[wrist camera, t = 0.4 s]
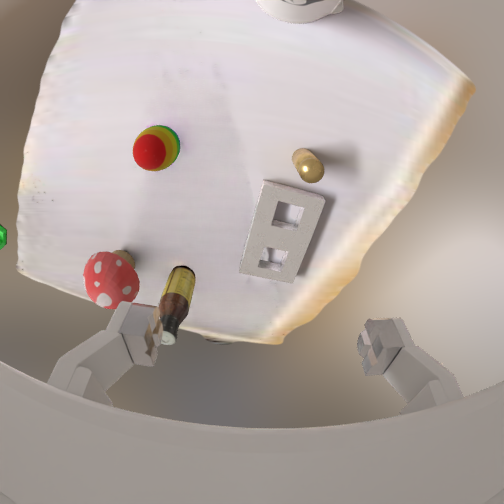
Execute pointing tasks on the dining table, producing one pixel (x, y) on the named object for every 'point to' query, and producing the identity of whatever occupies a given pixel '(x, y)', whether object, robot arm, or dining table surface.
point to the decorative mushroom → (111, 278)
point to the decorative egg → (156, 148)
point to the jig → (280, 232)
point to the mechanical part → (3, 236)
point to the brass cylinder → (308, 165)
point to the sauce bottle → (176, 301)
